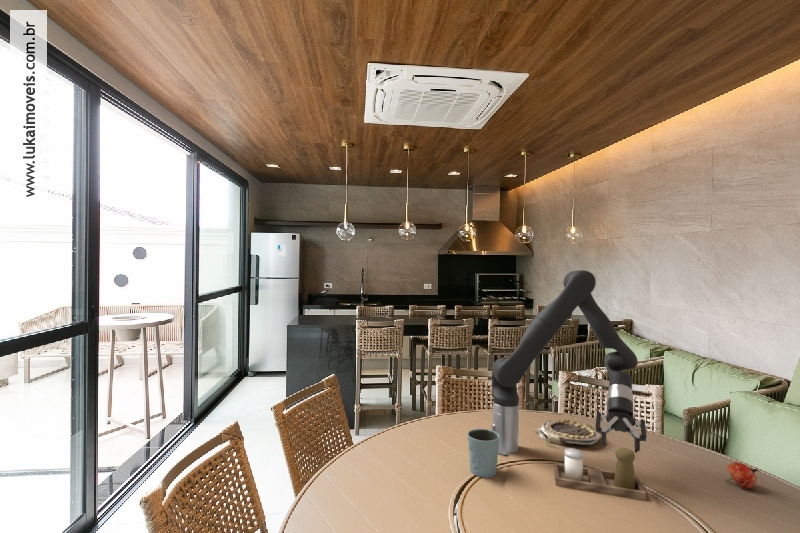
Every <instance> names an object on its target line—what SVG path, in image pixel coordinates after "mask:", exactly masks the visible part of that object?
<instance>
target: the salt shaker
mask: <svg viewBox="0 0 800 533" xmlns="http://www.w3.org/2000/svg"><path fill="white" fill-rule="evenodd" d="M564 464H565V479H570V480H577V481H583V467H584V453H583V451H581V450H580V449H576V448H573V447H572V448H571V447H570V448H568V447H567V448H565V449H564Z"/></svg>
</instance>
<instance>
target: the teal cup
mask: <svg viewBox="0 0 800 533" xmlns="http://www.w3.org/2000/svg"><path fill="white" fill-rule="evenodd" d="M467 441H468V451H469V453H468V455H469V456H468V457H469V472H471V474H472V475H474V476H476V477H480V478H492V477H494V476H496V475H497V470H498V467H497V465H498V461H499V460H498V458H499V453H498V446H499V434H498V433H496V432H494V431H492V429H487V428H475V429H471V430H469V431H468V432H467Z"/></svg>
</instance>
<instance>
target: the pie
mask: <svg viewBox="0 0 800 533" xmlns="http://www.w3.org/2000/svg"><path fill="white" fill-rule="evenodd" d="M533 431H534V432H535V433H536V434H538V436H539V437H540V438H541V439H544V442H545V444H546V445H548V446H549V447H550V448H552V447H553V446H551V445H550V444H553V443H554V444H558V445H563V446H573V447H587V448H589V447H591V446H593V445H596V444H598V441H599V440H601V434H600V433H597V432H596V428H594V427H592V426H591V425H589V424H586V423H583V422H578V421H577V420H571V419H562V418H561V419H554V420H552V419H549V420H546V421H544V422H543V424H542V425H541V427H539V428H535V429H534V430H533ZM538 431H540V432H538Z"/></svg>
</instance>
